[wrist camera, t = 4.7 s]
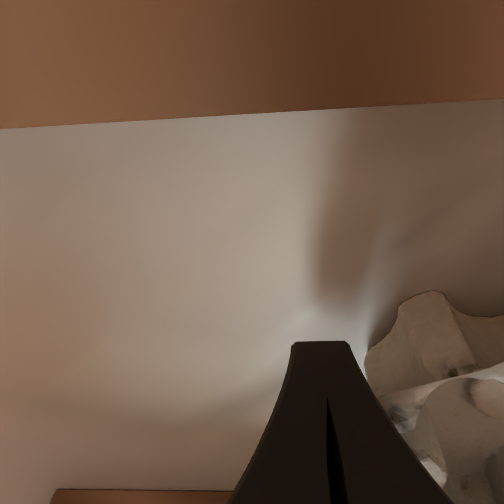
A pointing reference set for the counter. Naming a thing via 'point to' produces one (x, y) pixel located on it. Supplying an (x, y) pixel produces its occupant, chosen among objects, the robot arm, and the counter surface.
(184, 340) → the counter surface
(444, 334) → the egg carton
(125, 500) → the chute
